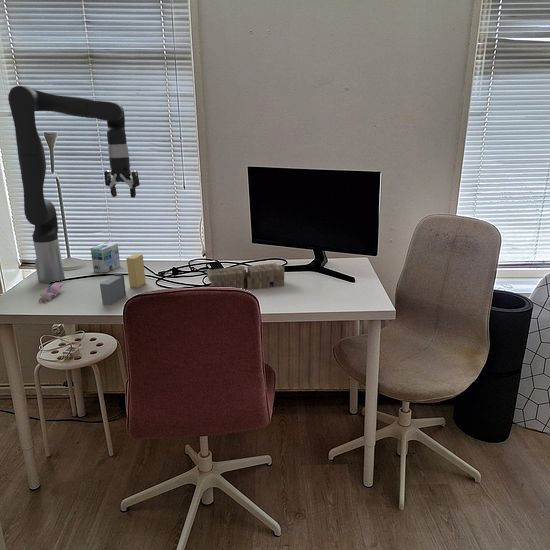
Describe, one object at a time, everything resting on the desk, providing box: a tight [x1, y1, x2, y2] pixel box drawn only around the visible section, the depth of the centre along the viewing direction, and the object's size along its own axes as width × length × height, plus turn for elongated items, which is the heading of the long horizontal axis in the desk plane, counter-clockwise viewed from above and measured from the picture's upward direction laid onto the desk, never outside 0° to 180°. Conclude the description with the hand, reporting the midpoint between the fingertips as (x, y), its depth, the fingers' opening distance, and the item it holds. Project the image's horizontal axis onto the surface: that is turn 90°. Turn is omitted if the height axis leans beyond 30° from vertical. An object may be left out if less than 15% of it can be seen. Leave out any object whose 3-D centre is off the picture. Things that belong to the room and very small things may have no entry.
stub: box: [126, 253, 147, 289], centre depth 195 cm, size 6×4×12 cm, turn 163°
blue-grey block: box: [99, 273, 127, 306], centre depth 181 cm, size 10×4×8 cm, turn 163°
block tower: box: [206, 263, 285, 291], centre depth 192 cm, size 8×8×29 cm
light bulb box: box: [90, 241, 121, 273], centre depth 216 cm, size 11×7×11 cm, turn 160°
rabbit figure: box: [38, 282, 65, 304], centre depth 186 cm, size 6×6×15 cm
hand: (123, 197), depth 199 cm, fingers open, 8 cm apart
